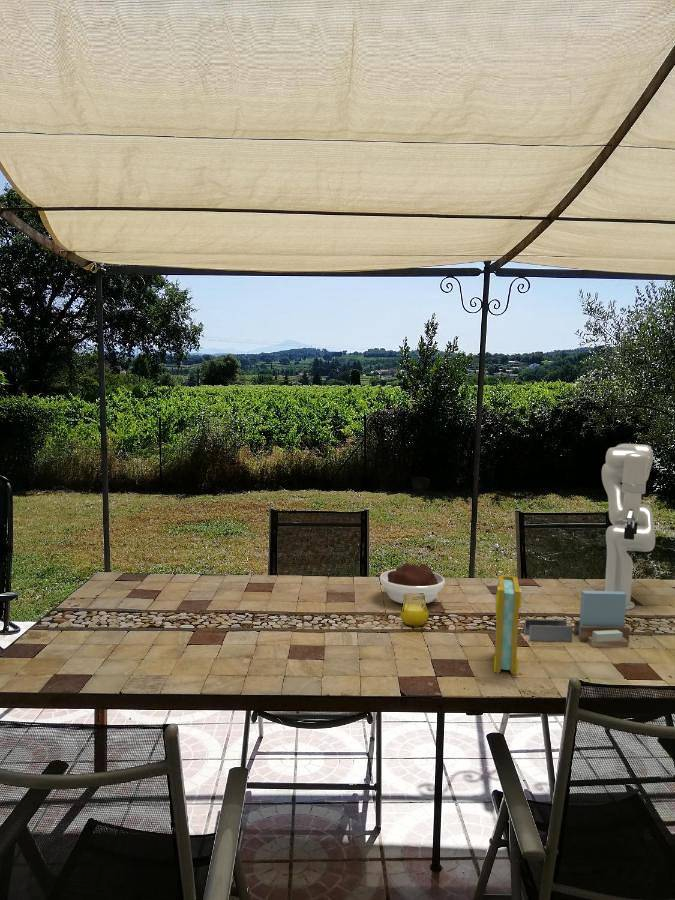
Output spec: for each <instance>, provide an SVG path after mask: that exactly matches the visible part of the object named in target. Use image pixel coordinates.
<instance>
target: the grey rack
mask: <svg viewBox="0 0 675 900" xmlns="http://www.w3.org/2000/svg"><path fill="white" fill-rule="evenodd" d="M567 623H568V621H567V620H566V619H547V618H546V619H544V618H542V619H540V618H538V619H537V618H525V619H524V631H523V632H524V635H529V638H528V640H529V641H530V642H532V640H533V642H569V643H570V642H573V633H574V626H572V625H568V624H567Z"/></svg>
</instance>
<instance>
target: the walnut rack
mask: <svg viewBox="0 0 675 900" xmlns="http://www.w3.org/2000/svg"><path fill="white" fill-rule="evenodd" d="M579 623H580V619H574V625H573V635H574V636H579ZM606 630H618V631H620V632H622V633H623V635H622V637H624V638H625V639H626V640H628V644H629V642H630V630H631V629H630V627H629V626H624V627H599V626H581V630H580V637H579V642H581V643H588V637H592V634H593V631H606Z"/></svg>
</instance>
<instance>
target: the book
mask: <svg viewBox="0 0 675 900" xmlns="http://www.w3.org/2000/svg"><path fill="white" fill-rule="evenodd" d="M497 579H498V583H497V592H496V593H495V594H496V595H495V619H496V621H495V623H496V624H495V641H494V642H495V643H494V644H495V645H494V657H493V658H494V659H493V673H495V672H501V670H506V671H510V672H511V673H514V674H517V675H518V666H519V657H517V653H518V637H519V635H518V633H519V618H520V617H519V614H520V609H521V607H522V588H520V585H519V584H520V583H519V579H518V577H516V576H513V575H505V574H503V575H499V576H498V577H497ZM514 674H513V675H514Z"/></svg>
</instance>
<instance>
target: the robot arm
mask: <svg viewBox="0 0 675 900" xmlns="http://www.w3.org/2000/svg"><path fill="white" fill-rule="evenodd" d="M605 453H606V454H605V463H604V464H603V465H602V468H601V481H602V485H603V487H604V490H605V492H606V494H607V499H608V518H609V521H610V523H611V524H612V525H609V526H608V527H607V529H606V530H605V541H606V543H605V544H606V565H605V579H604V580H605V581H604V582H605V583H604V591H623V592H624V593H625V594H626V607H625V611H630V610H633V609H634V608H635V605H636V604H635V603H634V602H633V601H631V600H632V599H631V598H632V585H633V571H634V569H633V568H634V563H633V559H632V557H631V556H630V555H629V553H627V552H628V551H633V552H644V553H646V552H647V553H648V552H651V551H653V550H654V549H655V547H656V532H655V522H654V521H655V520H654V514H653V513H654V512H653V510H652V508H651V507H650V506H649V505H648V504H645V503H642V495H644V494H646V487H647V481H648V480H649V477H650V472H651V469H652V465H653V461H654V454H653V453H654V452H653V449H652V448H651V446H650V445H648V444H639V443H638V444H637V443H635V444H634V443H619V444H617V445H616V446H615V447H614V446H613V447H609V448H608V449H607V451H606V452H605ZM621 483H622V484H621Z"/></svg>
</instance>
